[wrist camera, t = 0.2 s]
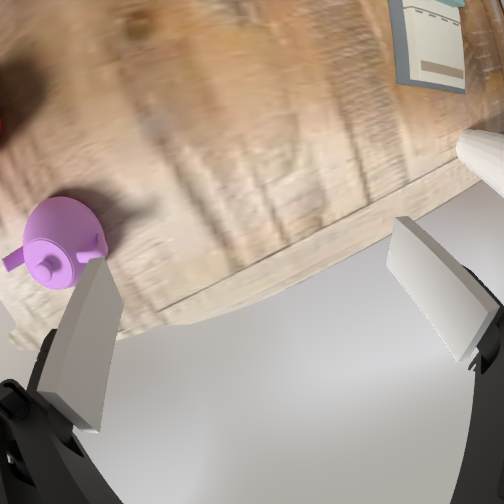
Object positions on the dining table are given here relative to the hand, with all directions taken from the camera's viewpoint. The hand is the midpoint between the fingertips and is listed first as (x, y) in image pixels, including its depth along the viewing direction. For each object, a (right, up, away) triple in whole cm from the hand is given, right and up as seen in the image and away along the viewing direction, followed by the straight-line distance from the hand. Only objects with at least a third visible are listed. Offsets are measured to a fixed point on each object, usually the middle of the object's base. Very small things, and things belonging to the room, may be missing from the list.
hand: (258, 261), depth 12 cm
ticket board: (+27, +37, +14) cm, 48 cm away
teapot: (-29, +3, +26) cm, 40 cm away
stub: (+27, +40, +12) cm, 50 cm away
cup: (+40, +20, +28) cm, 53 cm away
